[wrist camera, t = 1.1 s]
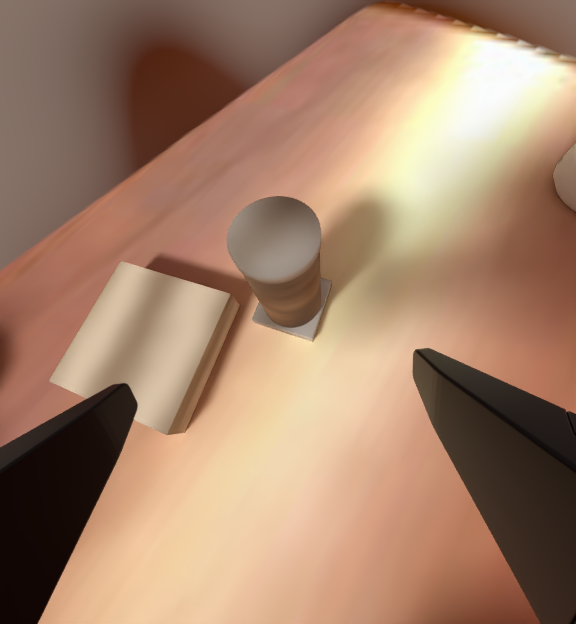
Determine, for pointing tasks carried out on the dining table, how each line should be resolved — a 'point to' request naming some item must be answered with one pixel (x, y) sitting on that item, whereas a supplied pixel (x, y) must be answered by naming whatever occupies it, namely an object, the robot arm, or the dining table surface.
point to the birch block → (150, 344)
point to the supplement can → (566, 178)
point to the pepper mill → (281, 263)
